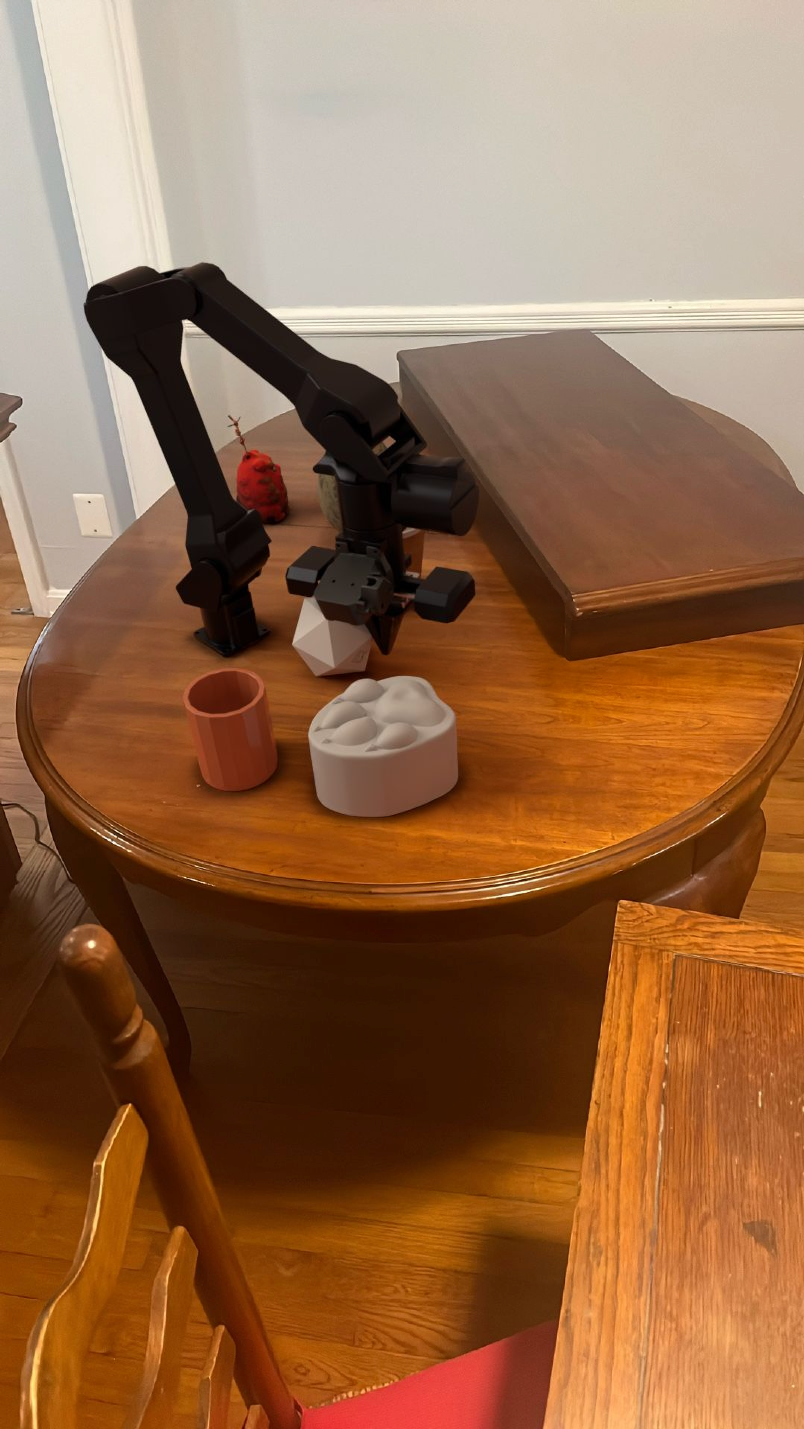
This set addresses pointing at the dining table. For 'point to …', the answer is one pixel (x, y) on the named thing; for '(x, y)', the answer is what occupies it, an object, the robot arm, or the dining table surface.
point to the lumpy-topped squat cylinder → (383, 747)
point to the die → (330, 642)
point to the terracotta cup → (231, 728)
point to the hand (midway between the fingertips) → (387, 653)
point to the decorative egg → (334, 494)
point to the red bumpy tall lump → (260, 484)
